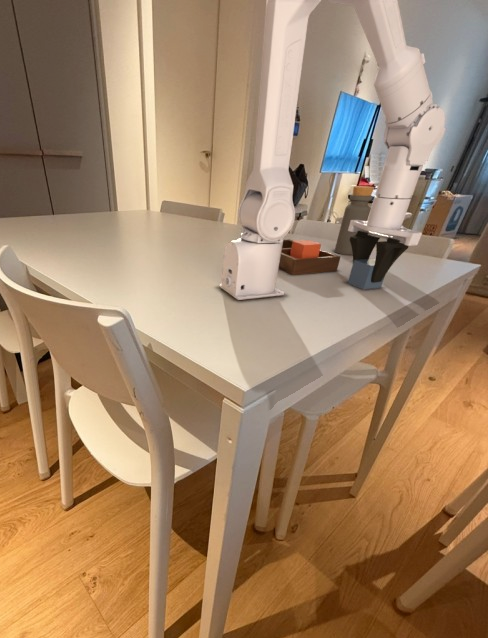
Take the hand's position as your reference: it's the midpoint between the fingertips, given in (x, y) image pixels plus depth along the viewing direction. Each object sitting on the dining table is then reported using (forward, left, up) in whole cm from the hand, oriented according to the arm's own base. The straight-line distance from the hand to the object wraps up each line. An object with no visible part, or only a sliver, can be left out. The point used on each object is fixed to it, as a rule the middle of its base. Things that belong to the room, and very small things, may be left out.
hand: (366, 278), depth 66 cm
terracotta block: (-4, +15, -1) cm, 16 cm away
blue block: (0, 0, -1) cm, 1 cm away
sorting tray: (-4, +20, -1) cm, 20 cm away
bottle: (+17, +25, -2) cm, 30 cm away
